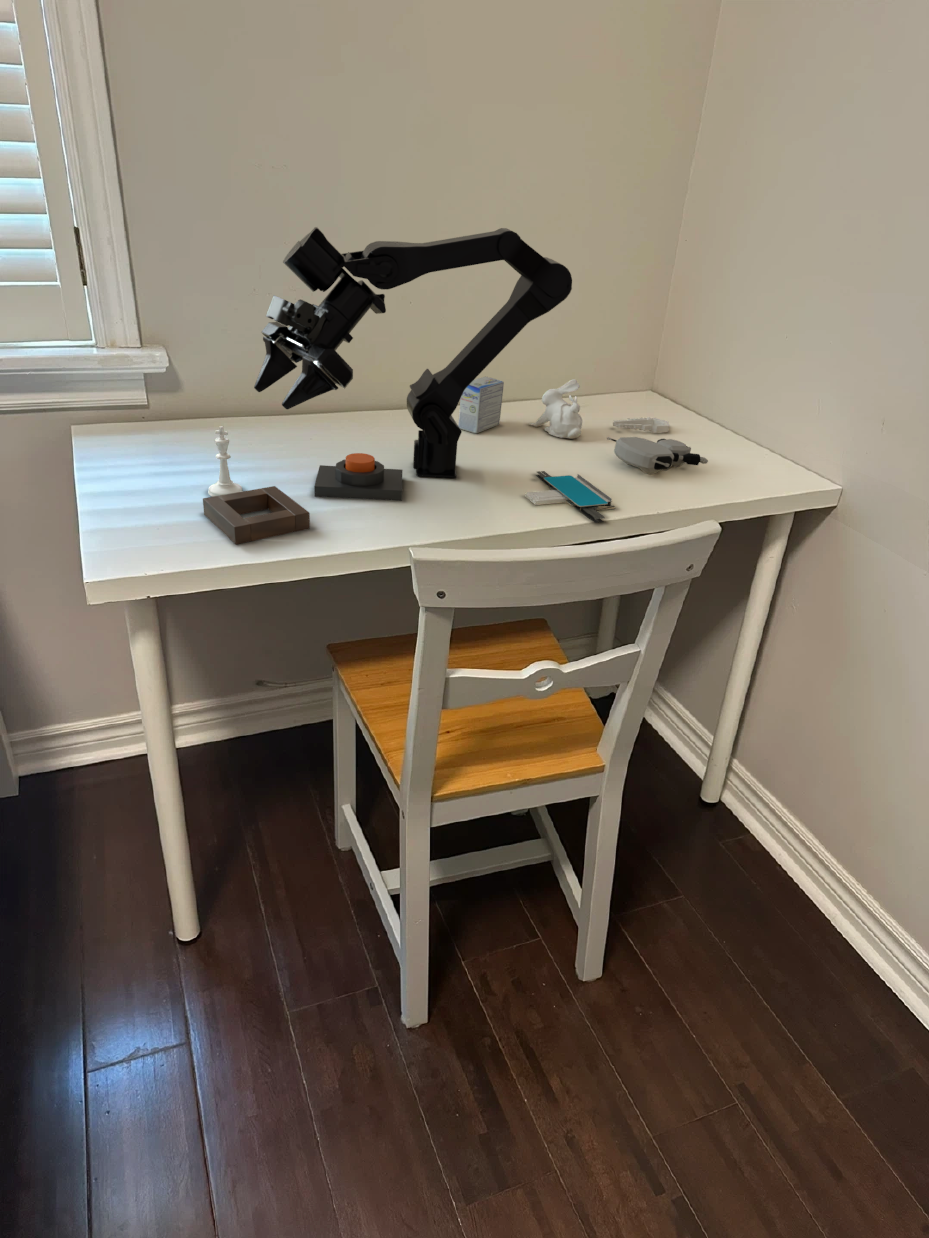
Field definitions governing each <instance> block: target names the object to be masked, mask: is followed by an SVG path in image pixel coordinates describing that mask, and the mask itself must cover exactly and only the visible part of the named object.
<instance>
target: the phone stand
mask: <svg viewBox="0 0 929 1238" xmlns="http://www.w3.org/2000/svg"><path fill="white" fill-rule="evenodd" d="M536 473H537V474H535V476H536V477H537V478H538V479H539V481H541V482H542V483H543V484H545V485H546V486H548V487H549V490H537V491H527V492H525V495H524V497H525V498H526V499H527V500H528V501H530V502H531V503H532V504H534V505H535V506H540V505H541V506H542V505H550V504H552V505H553V504H561V503H562V504H563V503H568V504H569V505H570V506H572V507H574V508H575V509H576V510H577V511H578V512H580V513H581V514H582V515H584V516H585V517H586V518H587V519H589V520H591V521H592V522H593V523H595V524H597V523H598V524H599V523H604V522H605V521H604V520H602V519H606V517H605V516H604V515H603V514H602V513H600V512H599V511H607V510H608V511H609V510H616V506H615V505H612V502H613V498H612V497H610V496H609V495H607V494H606V493H605V492H603V491H602V490H601V489H600V488H598V487H596V486H595V485H593V483H591V482H589V481H588V480H587V479H586V478H584V477H583V476H581V475H580V474H578V473H577V475H576V477H574V476H573V475H570V474H569V475H557V476H551V474H549V473H547V471H545V470H541V471H540V470H539V471H536ZM533 480H536V479H533Z"/></svg>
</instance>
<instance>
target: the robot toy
mask: <svg viewBox="0 0 929 1238" xmlns="http://www.w3.org/2000/svg"><path fill="white" fill-rule="evenodd" d="M606 439H607V440H608V441H613V442H615V445H614V450H613V452H614V454H615V456H616V457H617V458H618V459H620V460H621V461H622V462H624V463H625V464H627V465H629V466H633V467H635V468H638V469H639V470H641V472H642V473H644V474H648V475H653V474H656V473H658V472H659V471H668V470H669V469H671V467H674V468H679V467H681V465H683V464H686V465H689V466H699V465H700V464H703V465H704V464H708V462H709V460H708V459H707V458H706V457H703V456H701V455H700V454H699V453H692V452H691V451H692V447H691V446H687V444H686V443H684V442H682V441H680V440H676V439H673V438H660V439H658V440H657V441H656V442H655V441H652V440H650V439H646V438H643V437H638V436H623V437H622V436H621V437H619V438H617V439H615V438H612V437H610V436H607V437H606Z"/></svg>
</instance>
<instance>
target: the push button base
mask: <svg viewBox="0 0 929 1238" xmlns="http://www.w3.org/2000/svg"><path fill="white" fill-rule="evenodd" d="M313 490H314V491H313V493H314V497H315V498H330V499H331V498H333V499H351V500H354V499H355V500H372V501H373V500H374V501H375V500H376V501H392V502H393V501H394V502H395V501H396V502H402V501H403V469H401V468H399V469H397V468H385V465H384V464H383V463H381V462H380V461H378V460H375V469H374V470H373V471H371V472H364V473H363V472H352V471H348V470H347V469H346V458H344V459H342V460H340V461H338V462H336V464H335V465H321V464H320V465H319V467H318V470H317V475H316V479H315V483H314V489H313Z"/></svg>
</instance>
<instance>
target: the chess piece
mask: <svg viewBox="0 0 929 1238" xmlns="http://www.w3.org/2000/svg"><path fill="white" fill-rule="evenodd" d="M214 432H215V434H216V435H219V437H216V438H215V440H214V443H215V446H216V448H217V451H218V453H216V454H215V459H216V460H219V472H218V475H219V476H218V480H217V481H216V482H215V483H213V484H211V485H210V486H209V487H208V495H209V497H213V496H220V495H226V494H231V493H237V492H243V491H244V490H243V486H242V485H241V484H239V483H237V482H234V481H233V480H232V478H231V475H230V470H229V466H228V460H230V459H231V457H232V456H231V454H230V453H228V450H229V449H228V448H229V445H230V439H229V438H227V437H225V436H228V435H229V431H227V430H224V426H222V425H220V426H218V429H215V431H214Z"/></svg>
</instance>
